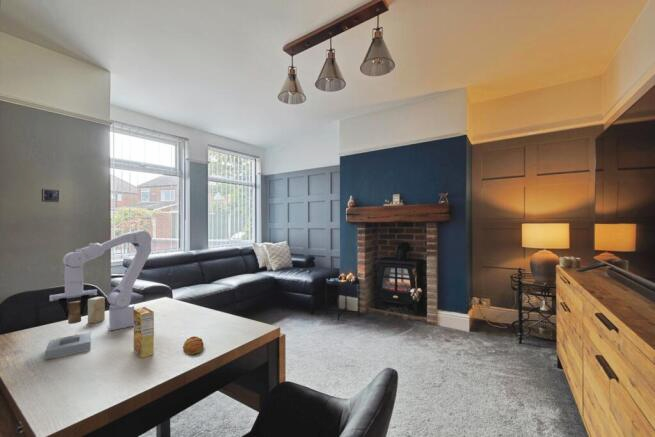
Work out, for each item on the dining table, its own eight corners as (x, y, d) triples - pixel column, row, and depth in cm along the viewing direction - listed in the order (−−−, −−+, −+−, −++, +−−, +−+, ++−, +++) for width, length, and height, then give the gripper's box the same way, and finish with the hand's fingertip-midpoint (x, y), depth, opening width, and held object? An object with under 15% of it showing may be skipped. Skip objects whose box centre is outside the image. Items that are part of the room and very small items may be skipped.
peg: (81, 319, 121) (81, 300, 121) (80, 322, 118) (80, 302, 118) (68, 321, 119) (68, 302, 119) (67, 324, 116) (67, 304, 116)
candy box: (132, 351, 106) (132, 309, 106) (146, 347, 109) (145, 306, 109) (141, 358, 100) (140, 314, 100) (155, 354, 103) (154, 311, 103)
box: (94, 323, 136) (94, 299, 136) (87, 322, 136) (86, 299, 136) (105, 319, 141) (105, 296, 141) (98, 319, 142) (97, 296, 142)
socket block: (90, 339, 117) (90, 332, 117) (90, 349, 108) (90, 341, 108) (49, 348, 110) (49, 340, 110) (45, 360, 100) (45, 351, 100)
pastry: (206, 353, 104) (206, 342, 104) (185, 358, 101) (185, 347, 101) (201, 343, 112) (201, 333, 112) (182, 348, 108) (181, 338, 108)
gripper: (96, 277, 126) (97, 309, 126) (50, 282, 117) (51, 316, 117) (96, 280, 121) (97, 313, 121) (48, 285, 112) (49, 321, 112)
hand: (74, 315), depth 119 cm, fingers closed on peg, 4 cm apart
